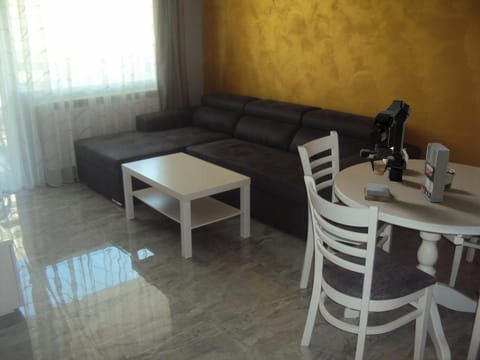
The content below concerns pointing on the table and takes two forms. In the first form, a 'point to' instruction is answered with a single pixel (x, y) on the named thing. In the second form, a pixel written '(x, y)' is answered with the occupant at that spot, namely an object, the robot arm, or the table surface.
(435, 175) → the grey handheld device
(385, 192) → the tower top block
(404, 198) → the table surface
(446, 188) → the food container
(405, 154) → the geodesic sphere
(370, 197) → the tower base block
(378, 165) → the tan rounded piece
